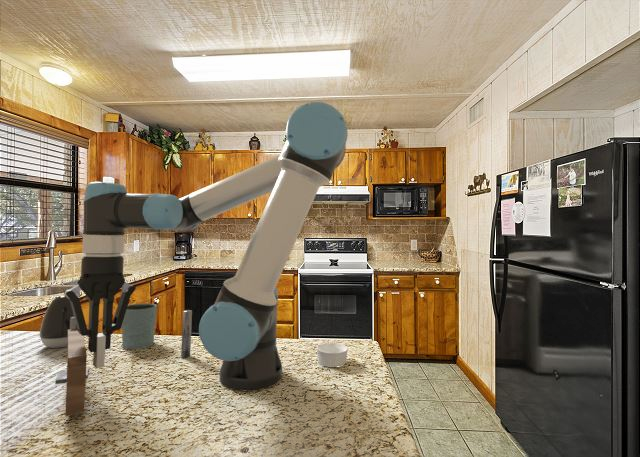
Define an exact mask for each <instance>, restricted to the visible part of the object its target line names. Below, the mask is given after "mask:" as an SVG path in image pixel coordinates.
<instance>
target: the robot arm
mask: <svg viewBox="0 0 640 457" xmlns="http://www.w3.org/2000/svg"><path fill="white" fill-rule="evenodd" d="M285 137H286V140H285V143H284V144H283V147H282V148H281V152H280V154H279V155H276V156H275V157H272V158H269V159H267V160H265V161H263V162H261V163H258V164H256V165H254V166H251V167H248V168H246V169H244V170H242V171H240V172H236V173H235V174H233V175H230V176H228V177H226V178H224V179H222V180H219V181H217V182H216V181H215V183H212V184H210V185H207V186H205V187H203V188H200V189H198V190H196V191H193V192H191V193H190V194H187V195H185V196H183V197H180V198H179V197H178V196H176V195H174V194H166V193H161V192H157V193H129V192H127V187H126V186H125V185H123V184H120V183H115V182H102V181H94V182H93V181H92V182H89V183H88V184H87V185H86V186H85V192H84V198H83V232H82V245H81V253H82V254H84V256H82V257H81V266H80V267H81V268H80V269H81V270H80V278H79V279H78V281H77V285H75V286H73V287H71V288H70V289H65V290H64V291H63V295H66V297H67V298H68V299H69V300H70V303H71V307H72V310H73V314H74V318H75V322H76V326H77V329H78V332H79V333H80V334H81V335H82V336H84V337H88V343H87V344H88V345H87V347H88V348H87V349H88V352H90V353H93V355H92V356H93V358H92V365H93V367H94V368H96V369H99V368H104V367H105V361H106V350H109V349H110V348H111V346H112V344H111V342H112V341H111V339H112V335H113V334H114V332H116V331H119V330H122V323H123V320H124V316H125V313H126V310H127V306H128V305H129V302H130V299H131V296H132V295H133V294H134V292H135V291H136V289H137V288H136V287H137V286H135V285H133V284H130V283H128V282H126V278H125V276H124V260H125V259H124V257H123V255H122V254H124V253H125V234H126V229H140V230H141V229H144V230H146V229H147V230H159V231H160V230H162V231H164V230H166V231H169V230H171V231H178V232H186V231H191V230H192V231H193V230H194V229H196V228H197V227H198V226H199V224H201V223H202V222H204V221H207V220H209V219H212V218H214V217H216V216H218V215H221V214H223V213H225V212H228V211H230V210H232V209H235V208H238V207H239V206H242V205H244V204H247V203H250V202H251V201H254V200H256V199H258V198H259V199H260V198H261V197H263V196H265V195H268V194H270V196H269V197H268V200H267V203H266V204H265V207H264V209H263V211H262V213H261V216H260V218H259V220H258V223H257V225H256V227H255V230H254V232H253V234H252V235H251V239H250V241H249V243H248V245H247V247H246V250H245V253H244V255H243V257H242V259H241V262H240V263H239V266H238V268H237V271H236V272H235V275H233V277H230V278H227V279H226V280H224V282H223V284H222V286H221V289H220V290H219V293H218V295H217V298H216V299H215V302H214V304H212V305H211V306H209V308H207V309H206V311H205V312H204V313H203V315H202V317H201V319H200V321H199V324H198V335H199V339H200V341H201V343H202V346H203V347H204V349H205V351H206V352H208V353H209V354H210V355H211V356H212V357H214V358H216V359H217V360H221V361H222V363H221V366H220V370H219V382H220V384H221V385H223V386H224V387H225V386H226V388H228V389H230V388H231V390H234V389H235V390H236V391H243V390H250V391H259V390H263V388H264V389H267V388H271V387H272V385H273V386H274V384H275V385H276V384H278V383H279V382H280V381H281V380H282V378H283V364H282V362H281V358H280V355H279V354H280V353H279V351H278V347H277V324H278V323H277V322H278V299H279V295H278V288H277V285H278V283H279V281H280V278H281V276H282V273H283V271H284V268H285V266H286V265H287V263H288V262H287V261H288V259H289V257H290V255H291V253H292V250H293V248H294V245H295V243H296V241H297V239H298V237H299V235H300V232H301V231H302V230H301V229H302V228H303V225H304V223H305V220H306V218H307V216H308V214H309V212H310V209H311V207H312V204H313V202H314V200H315V198H316V195H317V193H318V191H319V188H320V187H322V186H325V185H327V184H329V183H330V182H331V179H332V177H333V174H334V172H335V170H336V169H337V168H338V167H340V165H341V164H342V162H343V160H344V158H345V156H346V149H347V146H346V145H347V140H348V126H347V123H346V120H345V118H344V117H343V114H342V113H341V112H340V110H338V109H337V108H336V107H335V106H333V105H331V104H329V103H326V102H323V101H312V102H311V101H309V102H307V103H305V104H301V105H300V106H299V107H297V108H296V109H294V110H293V111H292V113H291V114H290V116H289V118H288V120H287V123H286V129H285ZM120 289H121V294H120V297H119V300H118V303H117V307H116V310H115V314H114V313H113V312H114V311H113V310H114V302H115V296H116V294H118V292H119V291H120ZM81 291H82V292H83V294H85V296H87V298H88V303H89V306H88V307H89V308H88V325H87V323H86V320H85V316H84V313H83V312H84V310H83V307H82V304H81V300H80V298H79V297H81ZM101 300H102V302H103V303H102V322H101V324H102V326H101V327H102V328H101V331H102V332H100V333H99V322H100V320H99V319H100V318H99V317H100V304H101ZM113 314H114V317H113ZM87 326H88V327H87ZM280 379H281V380H280ZM279 380H280V381H279ZM278 381H279V382H278ZM277 382H278V383H277ZM258 389H259V390H258Z"/></svg>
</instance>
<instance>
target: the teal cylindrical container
mask: <svg viewBox="0 0 640 457" xmlns="http://www.w3.org/2000/svg"><path fill="white" fill-rule="evenodd" d="M157 309H158V305H157V304H156V303H150V302H149V303H133V304H128V306H127V310H126V313H125V316H124V320H123V323H122V326H121V340H122V341H121V343H122V345H121V346H122V348H123V349H126V350H140V349H144V348H148V347H151V346H152V345H154V342H155V331H156V321H157Z"/></svg>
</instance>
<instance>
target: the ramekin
mask: <svg viewBox="0 0 640 457" xmlns="http://www.w3.org/2000/svg"><path fill="white" fill-rule="evenodd" d="M348 351H349V348H348V347H347V345H345V344H342V343H337V342H326V343H325V342H324V343H320V344H318V345H317V346H316V354H317V355H316V356H317V362H318V364H319V365H320V364H321V365H323V366H322V367H324V366H328V367H337V366H341V365H344V364H345V363H346V364H347V358H348V357H347V356H348ZM346 364H345V365H346ZM321 365H320V366H321ZM345 365H344V366H345ZM328 367H327V368H328Z"/></svg>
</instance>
